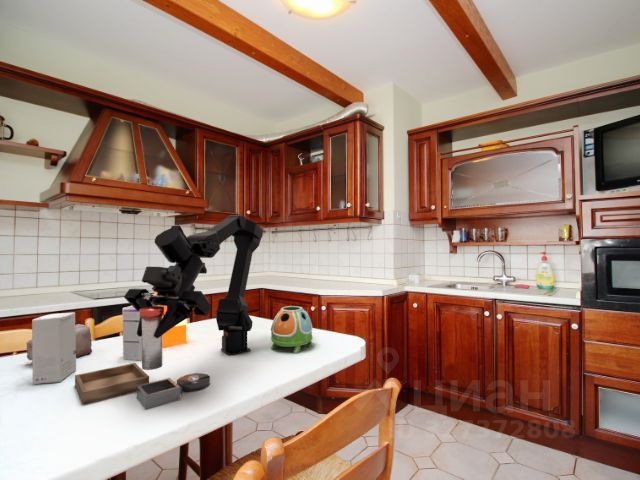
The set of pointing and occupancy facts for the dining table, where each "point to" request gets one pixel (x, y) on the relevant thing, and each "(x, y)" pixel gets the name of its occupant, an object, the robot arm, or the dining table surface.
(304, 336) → the turtle holder
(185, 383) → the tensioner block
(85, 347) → the food item
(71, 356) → the skincare box
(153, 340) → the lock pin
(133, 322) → the syrup box
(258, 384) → the dining table surface
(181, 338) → the orange juice
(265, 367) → the dining table surface
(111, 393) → the tray
